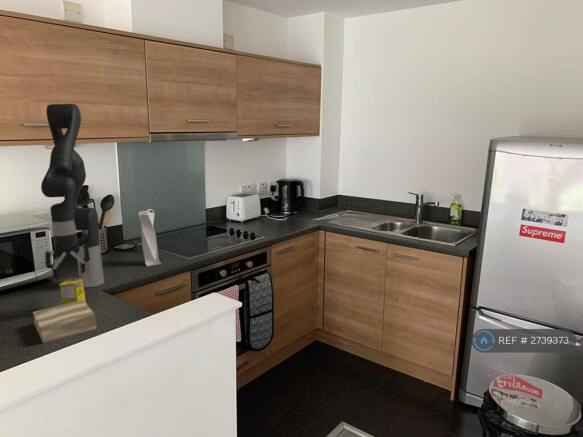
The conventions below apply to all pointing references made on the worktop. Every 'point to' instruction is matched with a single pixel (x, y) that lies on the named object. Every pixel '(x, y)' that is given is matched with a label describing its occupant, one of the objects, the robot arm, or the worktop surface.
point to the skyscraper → (149, 238)
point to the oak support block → (64, 320)
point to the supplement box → (72, 291)
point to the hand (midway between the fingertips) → (69, 275)
